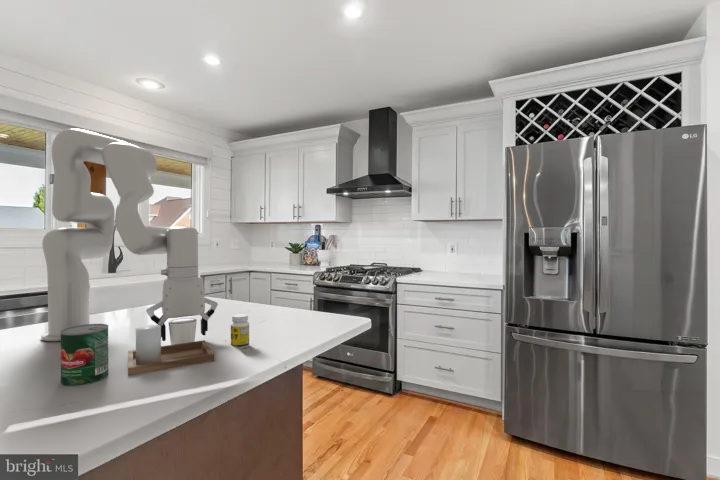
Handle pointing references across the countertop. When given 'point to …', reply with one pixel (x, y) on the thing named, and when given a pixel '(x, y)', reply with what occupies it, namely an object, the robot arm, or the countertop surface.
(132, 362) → the walnut tray
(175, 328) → the white tapered cup
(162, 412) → the countertop surface
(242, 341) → the supplement bottle
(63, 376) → the canned tomato
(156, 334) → the white pillar candle
